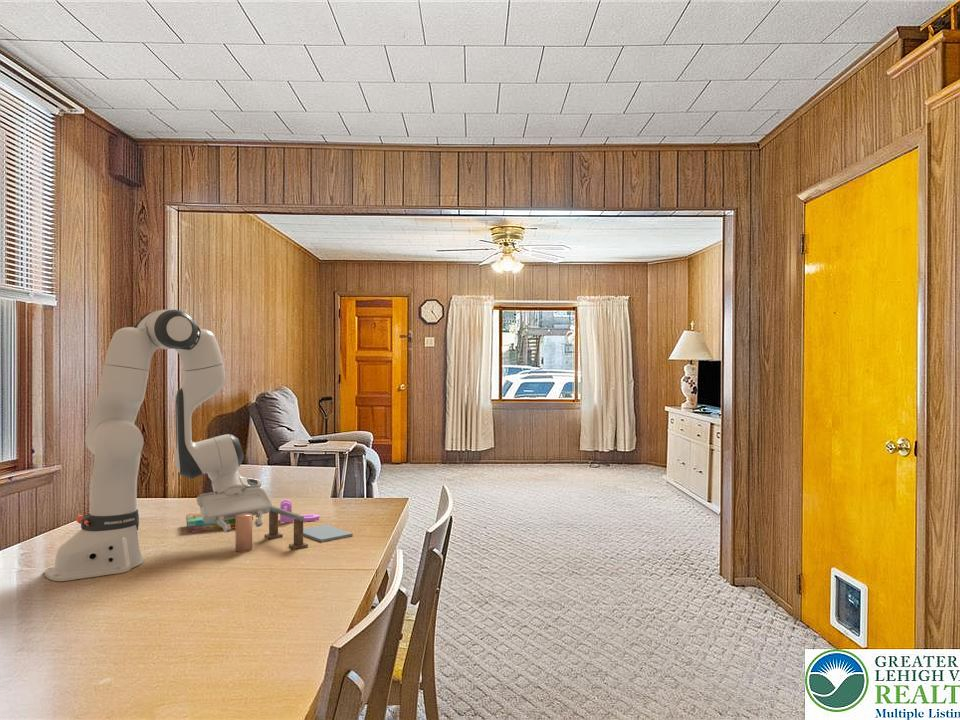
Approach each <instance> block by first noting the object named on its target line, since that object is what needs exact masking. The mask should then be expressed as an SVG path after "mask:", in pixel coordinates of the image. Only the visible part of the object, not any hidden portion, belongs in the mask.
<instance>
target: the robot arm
mask: <svg viewBox="0 0 960 720" xmlns="http://www.w3.org/2000/svg"><path fill="white" fill-rule="evenodd" d="M217 340H218V339H217V338H216V336H215V333H213V332H212V331H211V330H209V329H205V328H200V327H199V326H198V325H197V324H196V323H195V321H194V319H193V318H192V317H191V316H190V315H189V314H188V313H186V312H184V311H182V310H178V309H164V308H163V309H158V310H155V311H151V312H148V313H146V314H145V315H143V316H142V317H141V318H140V319H139V321H138V322H137V323H136V324H135V325H134V326H130V327H129V326H128V327H122V328H119V329H117V330H116V331H114V333H113V335H112V338H111V340H110V342H109V344H108V348H107V351H106V355H105V358H104V363H103V369H102V372H101V373H102V374H101V379H100V382H99V383H100V385H99V388H98V389H99V390H98V393H97V397H96V400H95V402H94V403H95V404H94V406H93V409H92V412H91V414H90V415H91V416H90V419H89V422H88V427H87V429H86V431H85V435H84V439H85V440H84V441H85V445H86V447H87V449H88V451H90V453H91V454H93V455H94V458H93V459H94V461H93V469H92V474H91V479H90V483H89V513H88V514H87V515H85V516H84V515H83V514H79V515H77V517H75V522H76V523H78V524H80V528H81V529H80V530H79V531H78V532H76V534H74V535H72V537H70V538H69V539H68V540H66V541H65V542H64V543H62V544H61V545H60V546H59V548H58V549H57V552H56V555H55V561H54V564H52V565H49V566H48V567H46V568H45V569H44V577H46V578H47V579H49V580H51V581H54V582H67V581H74V580H79V579H86V578H87V579H89V578H93V577H94V578H95V577H99V576H101V577H102V576H109V575H115V574H116V575H117V574H122V573H127V572H128V571H130V570H132V569H133V568H135V567H137V566H139V565H141V564H143V562H144V558H143V556H142V553H141V547H140V542H139V541H140V540H139V534H138V531H139V526H140V516H139V515H140V514H139V510H138V508H137V506H138V505H137V501H138V500H137V495H138V494H137V493H138V492H137V490H138V489H137V488H138V487H137V486H138V474H139V469H140V463H141V458H142V457H141V456H142V450H143V448H144V437H143V433H142V431H141V430H140V428H139V427H138V426H137V425H136V424H135V422H136V419H137V416H138V414H139V411H140V408H141V406H142V403H143V402H144V400H145V396H146V390H147V385H148V379H149V375H150V374H149V373H150V369H151V362H152V361H151V360H152V358H153V355H154V354H155V352H156V351H157V350H159V349H161V350H174V351H176V352H177V354H178V355H179V357H180V360H181V362H182V368H183V369H182V370H183V374H184V376H183V377H184V380H183V383H182V386H181V388H179V389H178V390H177V391H176V395H175V441H176V442H175V444H176V445H175V457H174V463H175V468H176V470H177V472H178V474H179V475H180V476H182V477H185V478H188V479H190V480H191V479H192V480H193V479H195V478H197V477H200V476H203V475H205V474H206V475H207V477H208V478H209V479H210V480H211V488H212V490H213V491H210V492H206V493H205V492H203V493H200V495H197V497H196V504H197V505H198V506H199V507H200V508H199V510H200V512H199V513H201V517H202V520H203V521H204V522H205V523H211V522H217V524H218V525H219V526H220V527H222V528H223V529H222V530H223V532H224V533H230V532H231V531H232V528H231V527H230V524H226V523H225V522H224V521H223V520H229V519H235V518H236V515H238V514H244V513H249V514H252V516H253V517H254V516H255V518H257V519H255V521H254V525H255V527H256V528H259V527H262V526H263V520H262V518H263V515H265V514H269V510H270V509H271V506H273V503H272V500H271V498H270V495H269V494H268V492H267V490H266V489H265V488H264V487H262V481H261V480H260V479H258V478H257V479H256V478H249V477H246V476H242V475H241V473H240V471H239V467H240V466H241V464H242V463H243V461H244V458H245V454H244V450H243V448H242V445H241V443H240V439H239V438H238V437H237V436H235V435H233V434H230V433H226V434H222V435H218V436H213V437H211V438H208V439H203V440H200V441H193V440H192V438H193V437H192V436H193V435H192V430H193V429H192V416H193V413H194V411H195V410H196V408H198V407H199V406H201V405H202V404H203V403H204V402H207V400H209V399H211V398H212V397H214V396H215V395H216V394H218V393H219V392H220V391H221V390H222V389H223V387H224V385H225V383H226V380H227V379H226V369H225V367H226V366H225V364H224V359H223V355H222V352H221V347H220V346H219V343H218V341H217Z"/></svg>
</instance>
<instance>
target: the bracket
mask: <svg viewBox="0 0 960 720" xmlns="http://www.w3.org/2000/svg"><path fill="white" fill-rule="evenodd" d="M292 505H293V504H292V502H291V500H289V499H283V500H282V501H281V502H280V507H279V508H280V509H283V510H286V511H289V512H292V511H293V510H292V508H293V506H292ZM292 513H293V512H292ZM279 515H280V516H279V517H280V518H279V523H280V522H293V521H294V519H293V518H290V517H287V516H284V515H281V514H279ZM300 515H301V516H304V520H303V521H310V522H316V521H315V520H317V521H320V514H317V513H310V514H309V513H308V514H300Z"/></svg>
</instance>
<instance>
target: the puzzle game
mask: <svg viewBox="0 0 960 720" xmlns="http://www.w3.org/2000/svg"><path fill="white" fill-rule="evenodd" d="M185 518H186V519H185V520H186V527H187V528H188V530H189V532H190V533H193V532H192V531H198V532H203V531H202V530H209V531H213V530H212V529H220V530H223V528H222V527H220V526H219V525H218V524H217V522H211V523H205V522H204V521H203V520H202V517H201V512H197V513H188V514H186V515H185ZM253 520H254V515H253V516H252V521H253ZM223 521H224V522H225V523H226V524H230V527H236V518H235V519H229V520H223Z"/></svg>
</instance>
